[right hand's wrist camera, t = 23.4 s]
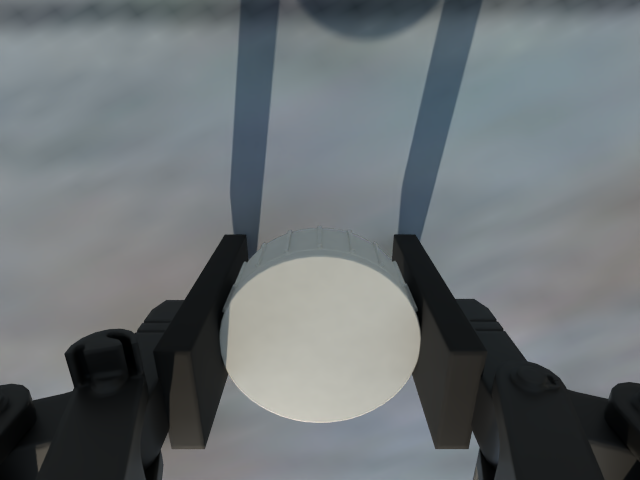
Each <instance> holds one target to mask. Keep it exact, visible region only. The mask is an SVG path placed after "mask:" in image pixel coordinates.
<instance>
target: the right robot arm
mask: <svg viewBox="0 0 640 480" xmlns="http://www.w3.org/2000/svg"><path fill="white" fill-rule="evenodd" d="M393 261H396V263H397V265H398V267H399V269H400V272H401V274H402V277H403V279H404V281H405V284H407V285H408V287H409V290H410V292H411V294H412V297H413V299H414V301H415V304H416V306H417V309H418V311H417V312H416V314H417V316H418V320H419V324H420V329H421V342H420V351H419V357H418V361H417V363H416V366H415V368H414V370H413V372H412V376H413V379H414V382H415V385H416V388H417V391H418V395H419V398H420V401H421V404H422V407H423V411H424V414H425V417H426V420H427V423H428V427H429V430H430V433H431V436H432V439H433V443H434V446H435V449H469V444H470V439H471V434H472V431H473V433H474V435H475V438H476V440H477V442H478V444H479V447H480V449H479V453H478V458H477V463H476V468H475V472H474V477H473V480H640V384H639V383H632V382H626V383H619V384H617V385H616V386H615V387H613V388H612V390H611V393H610V396H609V399H606V398H601V397H597V396H592V395H588V394H583V393H579V392H575V391H571V390H568V389H566V386H565V385H564V384H563V382H562V381H561V379H560V378H559V377H558V376H556V375H555V374H554V373H553V372H551V371H550V370H548V369H546V368H544V367H542V366H540V365H538V364H535V363H532V362H528V361H527V360H526V359H525V358H524V356H523V355H522V353H521V352H520V351H519V349H518V348H517V347H516V345H515V344H514V343H513V341H512V340H511V339H510V337H509V336H508V335H507V333H506V332H505V331H503V328H502V326H501V325H500V324H499V322H497V321H496V318H495V317H494V316H493V314H492V313H491V312H490V310H489V309H488V308H487V307H485V306H484V305H482V304H481V303H479V302H478V301H476V300H475V299H455V298H454V296H453V295H452V293H451V292H450V290H449V288H448V287H447V285H446V284H445V282H444V280H443V279H442V277H441V275H440V274H439V272H438V271H437V269H436V267H435V266H434V264H433V263H432V261H431V259H430V258H429V256H428V254H427V253H426V251H425V250H424V248H423V246H422V245H421V243H420V241H419V240H418V238H417V237H416V235H394V243H393V256H392V262H393ZM244 262H248V253H247V239H246V235H224V237H223V239H222V240H221V242H220V244H219V245H218V247H217V248H216V250H215V252H214V253H213V255H212V256H211V258H210V260H209V261H208V263H207V265H206V266H205V268H204V269H203V271H202V273H201V274H200V276H199V278H198V279H197V281H196V282H195V284H194V286H193V287H192V289H191V290H190V292H189V294H188V295H187V297H186V299H185V300H166V301H164V302H163V303H161V304H160V305H159V306H157V307H156V308H154V309H153V310H152V311H151V312H150V313H149V315H148V316H147V318H146V319H145V320H144V323H142V324H141V326H140V327H139V328H138V330H137V333H135V334H134V333H133V332H132V331H129V330H125V329H108V330H104V331H100V332H95V333H93V334H91V335H88V336H86V337H84V338H82V339H80V340H79V341H77V342H76V343H74V344H73V345H71V346H70V348H69V349H68V350H67V351H66V352H65V358H66V361H67V364H68V368H69V371H70V374H71V378H72V381H73V385H74V389H73V391H72V392H68V393H65V394H60V395H56V396H51V397H47V398H42V399H37V400H33V401H32V398H31V395H30V392H29V390H28V389H27V388H26V387H24V386H23V385H17V384H7V385H0V480H162V473H163V459H162V453H161V447H162V445H163V442H164V440H165V438H166V436H167V433H168V432H169V437H170V443H171V448H172V449H205V447H206V443H207V440H208V437H209V434H210V431H211V427H212V424H213V421H214V418H215V415H216V411H217V408H218V405H219V402H220V399H221V395H222V392H223V389H224V386H225V383H226V380H227V376H228V372H227V369H226V367H225V365H224V362H223V359H222V356H221V348H220V337H219V332H220V326H221V320H222V318H223V315H224V312H222V310H223V307H224V305H225V303H226V300H227V298H228V296H229V293H230V291H231V289H232V286H233V284H235V282H236V279H237V277H238V275H239V272H240V270H241V267H242V265H243V263H244Z"/></svg>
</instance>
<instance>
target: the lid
mask: <svg viewBox="0 0 640 480" xmlns="http://www.w3.org/2000/svg"><path fill="white" fill-rule="evenodd" d="M417 311H418V309H417V306H416V304H415V301H414V299H413V297H412V294H411V292H410V290H409V287H408V285H407V284H405V281H404V279H403V277H402V274H401V272H400V269H399V267H398V265H397V263H396V261H393V262H392V261H391V259H390V258H389V257H388V256H387V255H386V254H385V253H384V252H383V251H382V250H381V249H380V248H379V247H378V244H377V243H376V242H374V243H371V242H370V241H368V240H366V239H364V238H362V237H360V236H358V235H355V234H353V233H352V231H351V230H348V231H347V232H346V231H342V230H338V229H330V228H322V226H318V228H310V229H303V230H298V231H294V232H292V230H289V231H288V233H287V234H285V235H283V236H280V237H278V238H276V239H274V240H272V241H271V242H269V243H267V244H266V243H263V244H262V246H261V249H259V250H258V251H257V252H256V253H255V254H254V255H253V256H252V257H251V258H250V260H249V261H248V262H244V263H243V265H242V267H241V270H240V272H239V275H238V277H237V279H236V282H235V284H233V286H232V289H231V291H230V293H229V296H228V298H227V300H226V303H225V305H224V307H223V310H222V312H224V315H223V318H222V320H221V326H220V332H219V337H220V348H221V356H222V359H223V362H224V365H225V367H226V369H227V372H228V374H229V375H230V377H231V378H232V380H233V381H234V383H235V384H236V385H237V387H238V388H239V389H240V390H241V391H242V392H243V393H244V394H245V395H246V396H247V397H248V398H249V399H251V400H252V401H253V402H255V403H256V404H258V405H259V406H261V407H263V408H264V409H266V410H268V411H270V412H272V413H275V414H277V415H280V416H283V417H286V418H289V419H293V420H299V421H304V422H315V423H318V422H336V421H342V420H347V419H351V418H355V417H358V416H361V415H363V414H366V413H368V412H370V411H372V410H374V409H376V408H378V407H379V406H381V405H383V404H384V403H386V402H387V401H388V400H390V399H391V398H392V397H393V396H394V395H395V394H396V393H397V392H398V391H400V390H401V388H402V387H403V386H404V385H405V383H406V382H407V381H408V379H409V377H410V376H411V374H412V372H413V370H414V368H415V366H416V363H417V361H418V357H419V351H420V342H421V329H420V324H419V320H418V316H417V314H416V312H417Z"/></svg>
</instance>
